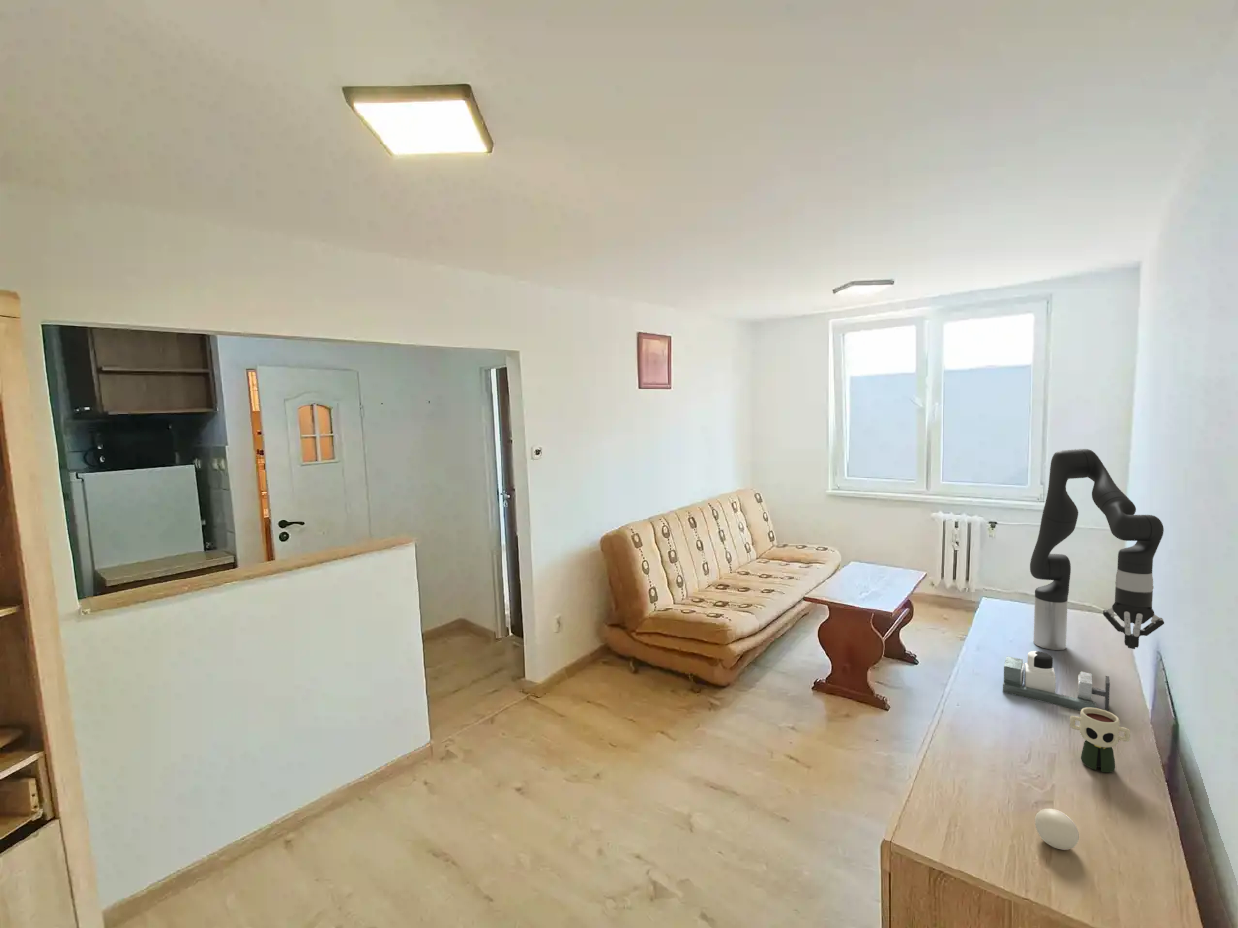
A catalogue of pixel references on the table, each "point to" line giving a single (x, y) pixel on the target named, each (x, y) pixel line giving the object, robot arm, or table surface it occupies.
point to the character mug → (1099, 737)
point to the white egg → (1056, 829)
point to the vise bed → (1015, 687)
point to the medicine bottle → (1040, 672)
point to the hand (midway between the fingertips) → (1131, 647)
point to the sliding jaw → (1087, 690)
